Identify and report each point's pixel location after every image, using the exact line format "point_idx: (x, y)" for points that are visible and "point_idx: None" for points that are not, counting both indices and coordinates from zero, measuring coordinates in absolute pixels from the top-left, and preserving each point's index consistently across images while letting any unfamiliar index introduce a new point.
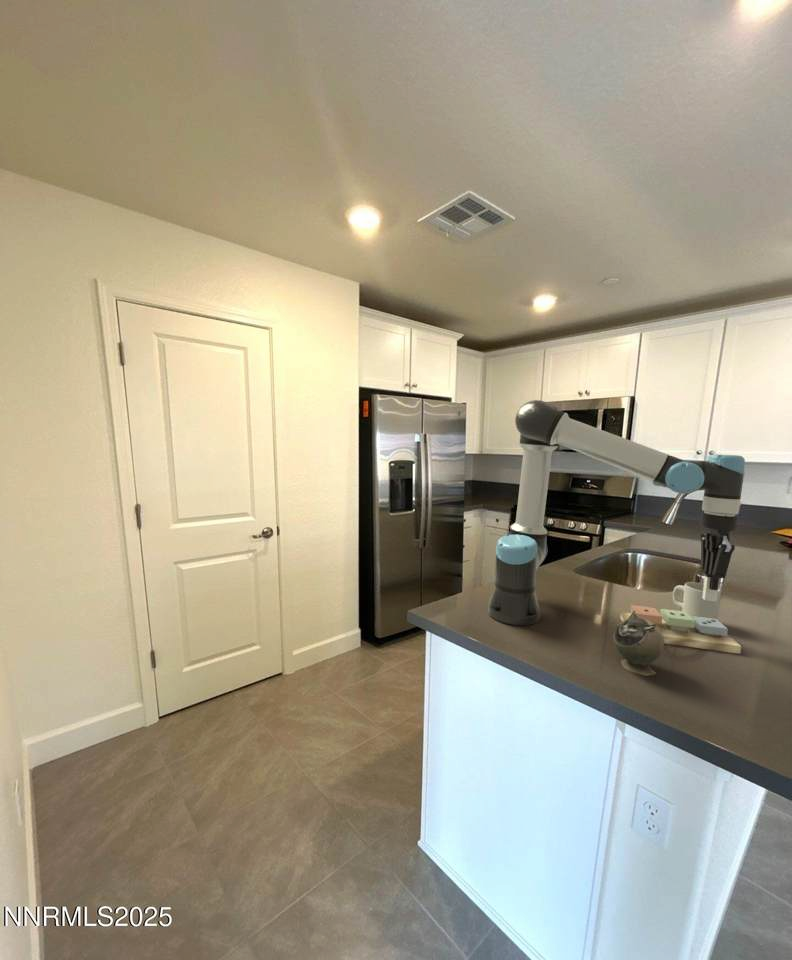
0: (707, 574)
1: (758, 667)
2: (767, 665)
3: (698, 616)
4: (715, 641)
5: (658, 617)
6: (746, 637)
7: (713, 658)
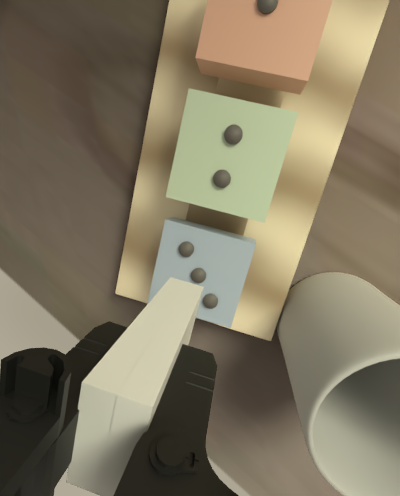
0: (42, 393)
1: (63, 274)
2: (77, 305)
3: (299, 304)
4: (136, 237)
5: (200, 42)
6: (226, 384)
7: (90, 187)
